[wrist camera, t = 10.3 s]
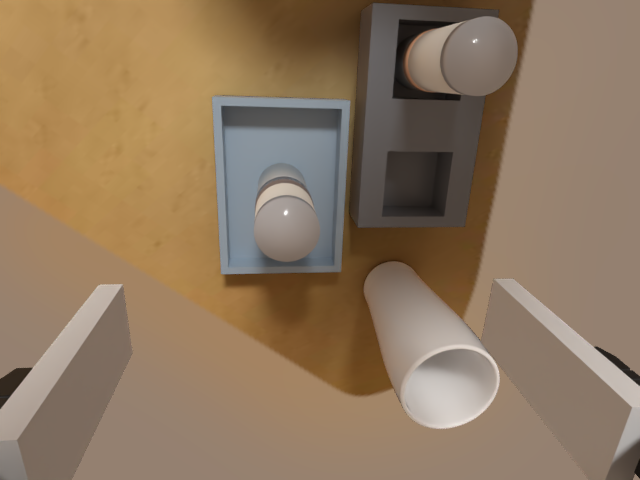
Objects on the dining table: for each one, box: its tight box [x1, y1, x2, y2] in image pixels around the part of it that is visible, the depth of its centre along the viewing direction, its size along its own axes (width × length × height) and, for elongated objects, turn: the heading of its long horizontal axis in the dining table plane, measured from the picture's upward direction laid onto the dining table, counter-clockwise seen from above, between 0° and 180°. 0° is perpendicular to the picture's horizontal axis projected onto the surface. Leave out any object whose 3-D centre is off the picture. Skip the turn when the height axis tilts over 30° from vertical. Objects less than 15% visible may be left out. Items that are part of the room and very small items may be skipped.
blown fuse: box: [254, 163, 320, 262], centre depth 31 cm, size 4×4×11 cm
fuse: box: [394, 16, 518, 96], centre depth 29 cm, size 4×4×11 cm
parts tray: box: [212, 95, 350, 274], centre depth 36 cm, size 14×10×2 cm
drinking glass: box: [364, 261, 500, 429], centre depth 35 cm, size 7×7×15 cm
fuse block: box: [349, 3, 499, 228], centre depth 35 cm, size 16×9×4 cm, turn 178°
